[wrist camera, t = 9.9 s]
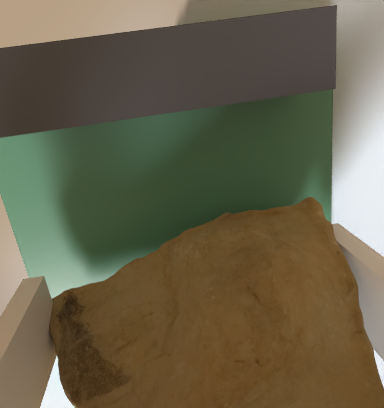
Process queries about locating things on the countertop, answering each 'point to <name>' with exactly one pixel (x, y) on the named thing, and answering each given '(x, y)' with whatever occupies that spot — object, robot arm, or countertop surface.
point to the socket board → (161, 135)
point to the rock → (223, 322)
